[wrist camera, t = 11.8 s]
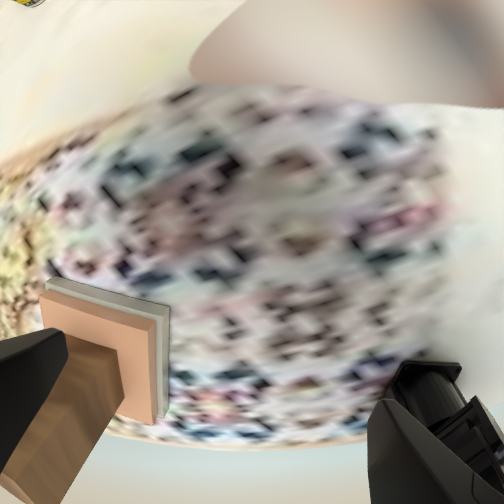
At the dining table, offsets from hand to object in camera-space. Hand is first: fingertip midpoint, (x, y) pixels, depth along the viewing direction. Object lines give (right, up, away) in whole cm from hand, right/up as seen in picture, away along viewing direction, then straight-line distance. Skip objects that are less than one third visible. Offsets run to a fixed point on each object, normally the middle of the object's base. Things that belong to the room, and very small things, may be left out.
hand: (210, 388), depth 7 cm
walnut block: (-11, -6, +13) cm, 18 cm away
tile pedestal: (-11, -5, +16) cm, 20 cm away
